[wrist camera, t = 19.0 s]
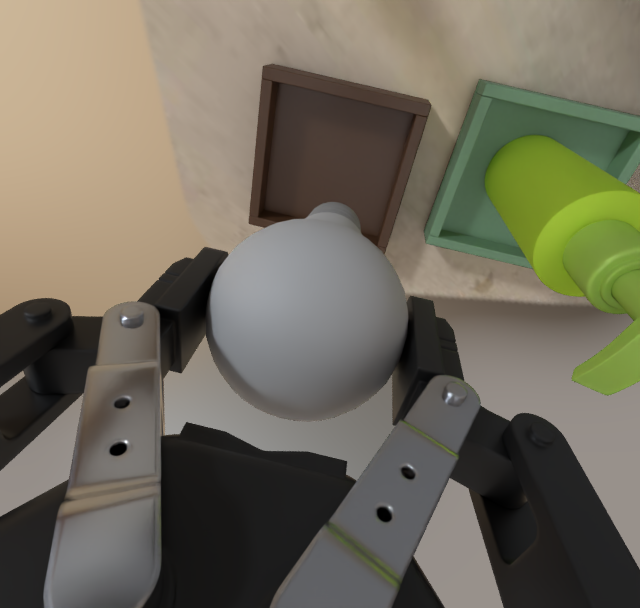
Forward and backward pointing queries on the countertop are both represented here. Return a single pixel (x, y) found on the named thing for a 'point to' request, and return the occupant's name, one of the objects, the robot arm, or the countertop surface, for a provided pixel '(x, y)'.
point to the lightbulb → (307, 317)
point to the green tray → (498, 130)
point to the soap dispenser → (576, 240)
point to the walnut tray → (333, 149)
